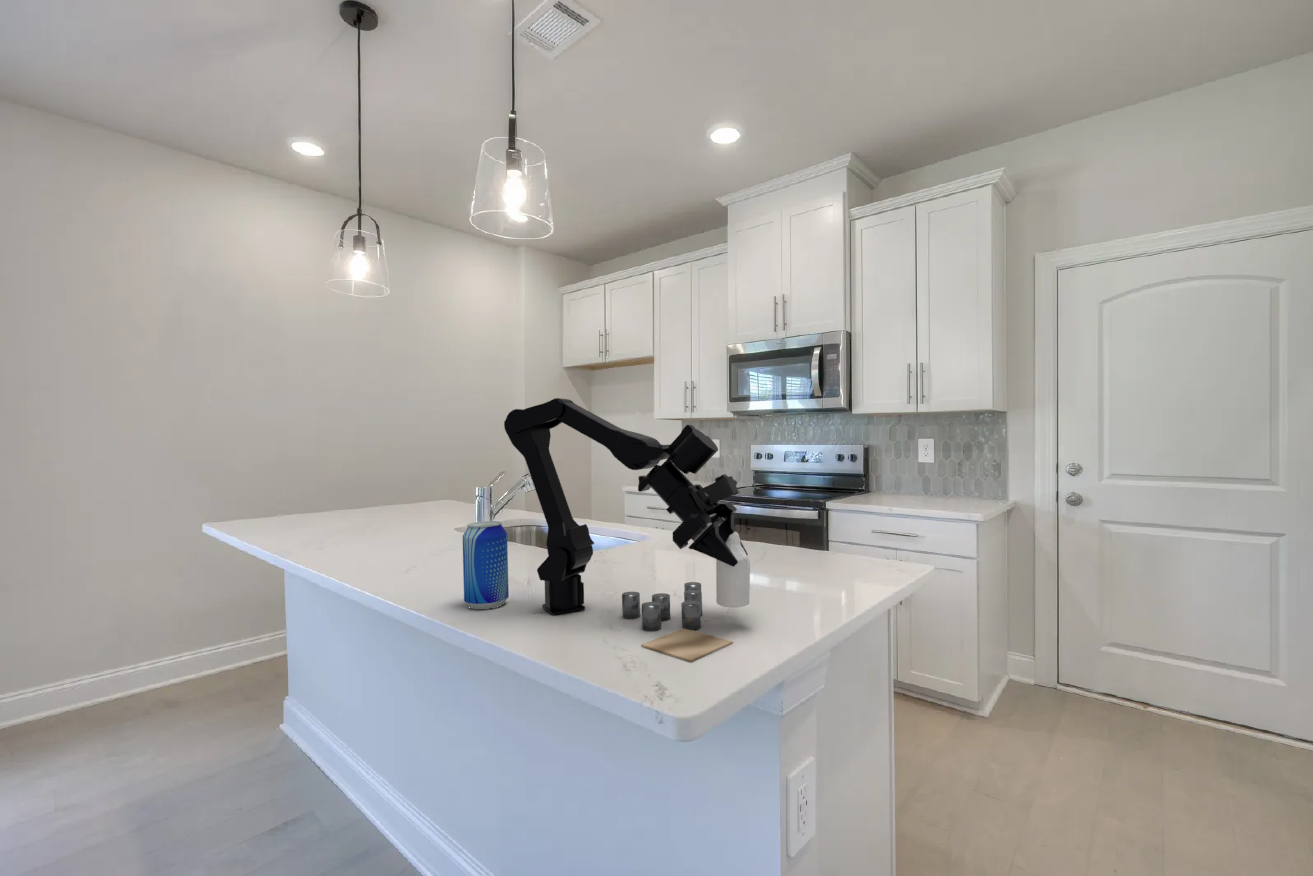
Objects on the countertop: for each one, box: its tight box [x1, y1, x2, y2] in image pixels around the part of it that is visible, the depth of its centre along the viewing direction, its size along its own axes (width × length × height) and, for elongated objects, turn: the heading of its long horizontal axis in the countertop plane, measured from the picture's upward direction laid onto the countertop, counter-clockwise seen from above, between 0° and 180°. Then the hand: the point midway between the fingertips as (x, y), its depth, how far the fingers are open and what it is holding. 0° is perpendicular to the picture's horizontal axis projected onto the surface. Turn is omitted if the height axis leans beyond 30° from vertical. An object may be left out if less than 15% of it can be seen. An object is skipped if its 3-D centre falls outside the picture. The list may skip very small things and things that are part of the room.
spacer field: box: [621, 581, 703, 632], centre depth 105 cm, size 16×14×4 cm
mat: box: [640, 628, 734, 663], centre depth 91 cm, size 10×10×1 cm
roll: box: [715, 531, 751, 609], centre depth 99 cm, size 6×12×6 cm
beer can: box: [462, 520, 509, 610], centre depth 116 cm, size 8×8×16 cm
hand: (741, 560), depth 99 cm, fingers closed on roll, 6 cm apart
